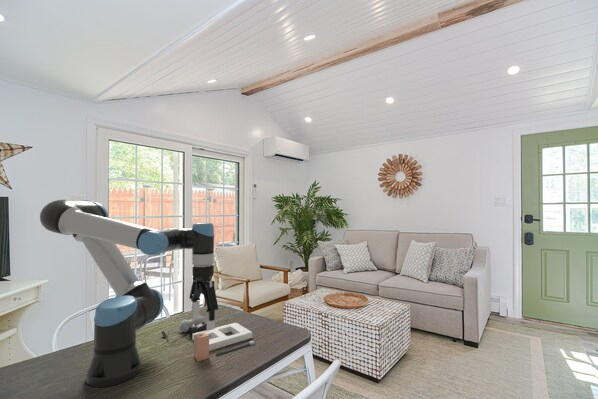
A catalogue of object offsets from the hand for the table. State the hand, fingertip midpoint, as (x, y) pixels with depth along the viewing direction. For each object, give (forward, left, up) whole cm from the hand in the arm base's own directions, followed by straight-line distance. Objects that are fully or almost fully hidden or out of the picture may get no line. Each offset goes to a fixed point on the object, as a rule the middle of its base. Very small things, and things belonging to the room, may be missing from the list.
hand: (202, 324), depth 109 cm
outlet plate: (+13, +10, -12) cm, 20 cm away
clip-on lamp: (+2, +25, -12) cm, 27 cm away
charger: (0, 0, -12) cm, 12 cm away
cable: (+12, -2, -12) cm, 17 cm away
